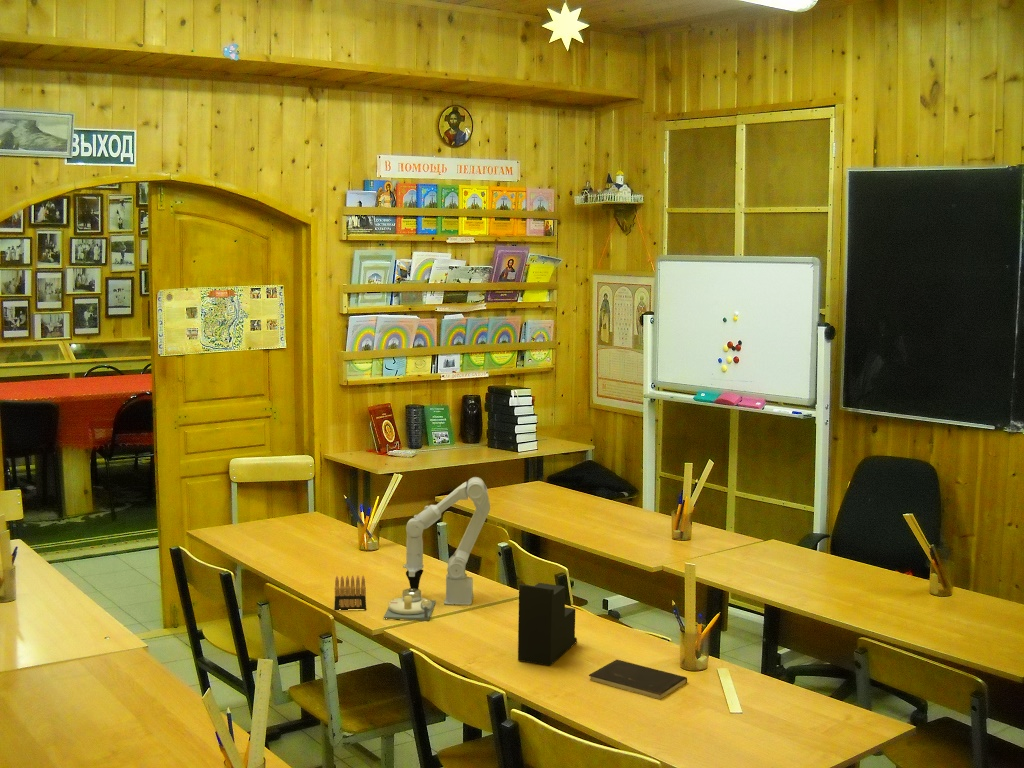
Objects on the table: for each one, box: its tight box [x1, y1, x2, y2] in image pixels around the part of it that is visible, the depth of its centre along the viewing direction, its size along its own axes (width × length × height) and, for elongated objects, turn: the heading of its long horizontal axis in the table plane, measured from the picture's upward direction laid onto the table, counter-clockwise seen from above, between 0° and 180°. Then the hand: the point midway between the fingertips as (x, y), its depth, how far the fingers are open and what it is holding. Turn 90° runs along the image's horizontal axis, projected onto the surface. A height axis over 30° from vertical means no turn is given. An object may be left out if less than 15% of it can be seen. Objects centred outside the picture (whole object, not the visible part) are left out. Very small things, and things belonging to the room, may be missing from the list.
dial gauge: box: [421, 599, 432, 617], centre depth 369 cm, size 4×1×7 cm, turn 87°
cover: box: [402, 587, 422, 603], centre depth 381 cm, size 6×6×4 cm
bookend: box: [517, 582, 578, 666], centre depth 340 cm, size 23×11×24 cm, turn 157°
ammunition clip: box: [333, 574, 367, 610], centre depth 378 cm, size 11×2×12 cm, turn 96°
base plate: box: [383, 598, 437, 622], centre depth 378 cm, size 15×19×1 cm
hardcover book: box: [588, 659, 688, 700], centre depth 318 cm, size 16×23×2 cm
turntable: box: [388, 596, 432, 614], centre depth 378 cm, size 14×14×6 cm
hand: (414, 591), depth 388 cm, fingers closed
